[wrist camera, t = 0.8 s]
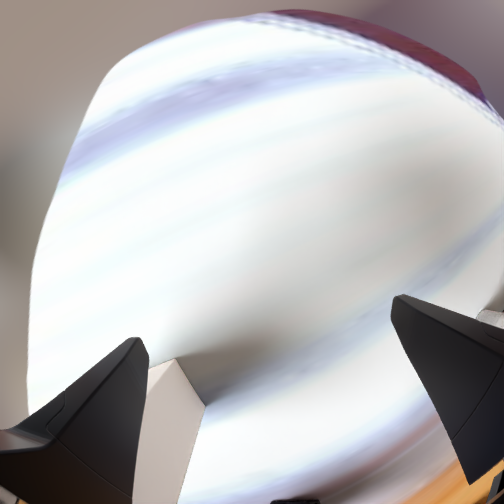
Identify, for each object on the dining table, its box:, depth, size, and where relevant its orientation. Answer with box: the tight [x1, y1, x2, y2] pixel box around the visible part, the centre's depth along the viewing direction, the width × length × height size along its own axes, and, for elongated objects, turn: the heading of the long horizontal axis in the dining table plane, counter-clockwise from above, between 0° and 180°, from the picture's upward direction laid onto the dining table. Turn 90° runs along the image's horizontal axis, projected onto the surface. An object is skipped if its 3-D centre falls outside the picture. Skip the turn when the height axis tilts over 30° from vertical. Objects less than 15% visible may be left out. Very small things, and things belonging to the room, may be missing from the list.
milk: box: [132, 359, 205, 504], centre depth 12 cm, size 6×6×22 cm
